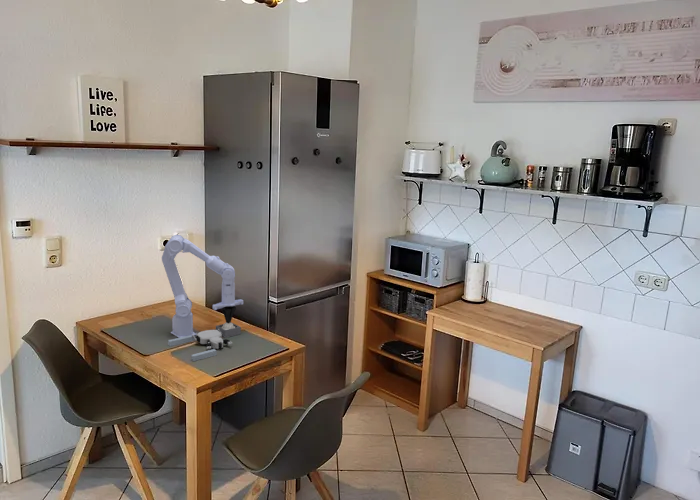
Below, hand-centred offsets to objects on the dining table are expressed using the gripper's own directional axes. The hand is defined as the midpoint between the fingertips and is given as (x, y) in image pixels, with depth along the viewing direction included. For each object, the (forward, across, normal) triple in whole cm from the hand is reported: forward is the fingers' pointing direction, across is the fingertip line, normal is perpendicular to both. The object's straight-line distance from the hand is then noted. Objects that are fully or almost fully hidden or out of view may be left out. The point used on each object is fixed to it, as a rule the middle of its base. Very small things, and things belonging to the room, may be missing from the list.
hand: (228, 322), depth 240 cm
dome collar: (+5, 0, 0) cm, 5 cm away
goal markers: (+5, -22, -8) cm, 24 cm away
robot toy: (+6, -12, -8) cm, 16 cm away
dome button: (+5, 0, 0) cm, 5 cm away
